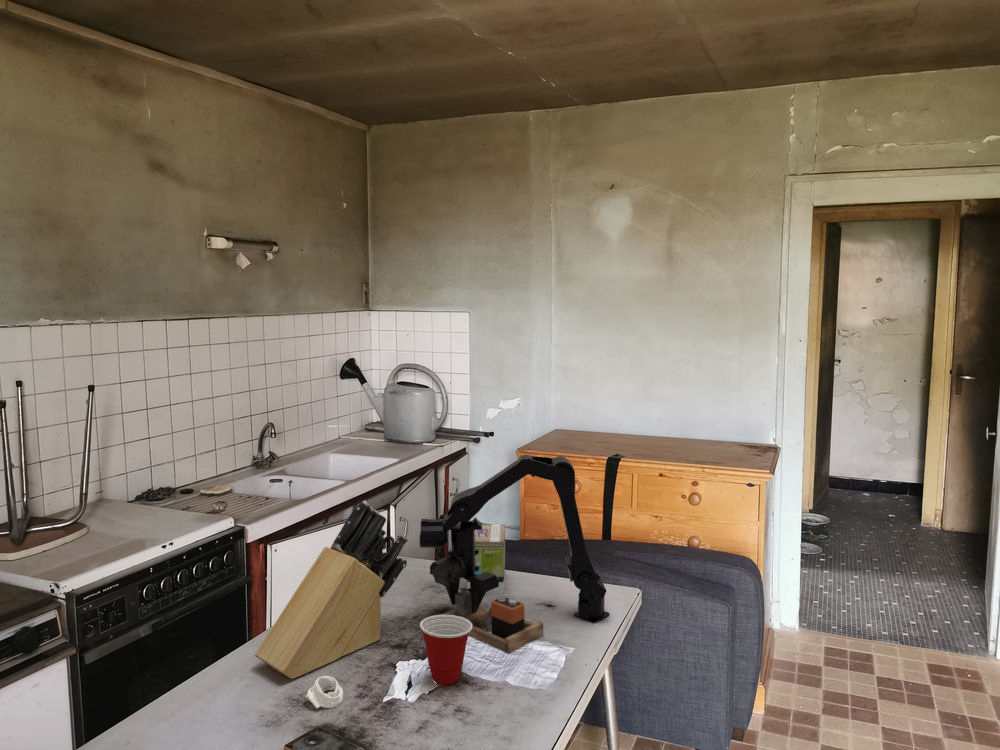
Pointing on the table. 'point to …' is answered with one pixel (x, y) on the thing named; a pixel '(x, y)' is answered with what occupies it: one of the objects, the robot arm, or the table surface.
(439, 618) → the plastic cup
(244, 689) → the table surface
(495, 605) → the battery
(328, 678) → the white plastic ring
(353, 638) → the knife block
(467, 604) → the wooden tray frame
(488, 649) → the table surface
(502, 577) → the tea box
